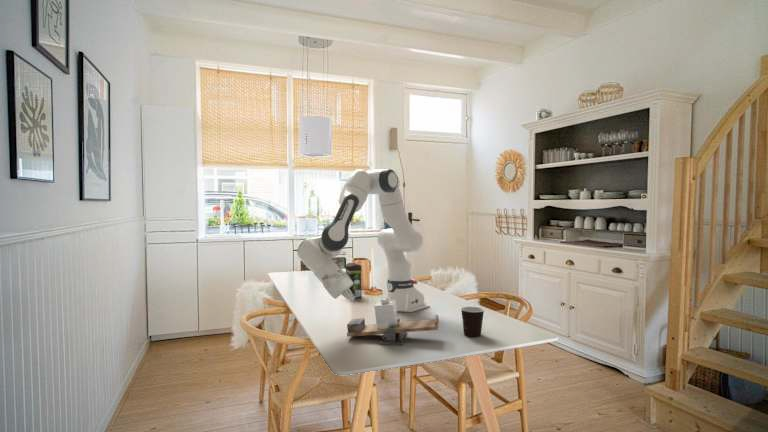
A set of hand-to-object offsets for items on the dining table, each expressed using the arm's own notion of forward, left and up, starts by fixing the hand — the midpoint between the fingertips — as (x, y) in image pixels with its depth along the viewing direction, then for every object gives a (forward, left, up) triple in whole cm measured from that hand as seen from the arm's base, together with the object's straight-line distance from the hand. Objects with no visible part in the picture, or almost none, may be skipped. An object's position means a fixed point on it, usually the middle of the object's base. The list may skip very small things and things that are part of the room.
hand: (353, 299), depth 161 cm
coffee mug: (-40, +25, -14) cm, 49 cm away
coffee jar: (-36, -59, -14) cm, 71 cm away
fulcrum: (-11, +11, -14) cm, 21 cm away
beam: (-11, +11, -10) cm, 19 cm away
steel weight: (-10, +10, -10) cm, 17 cm away
